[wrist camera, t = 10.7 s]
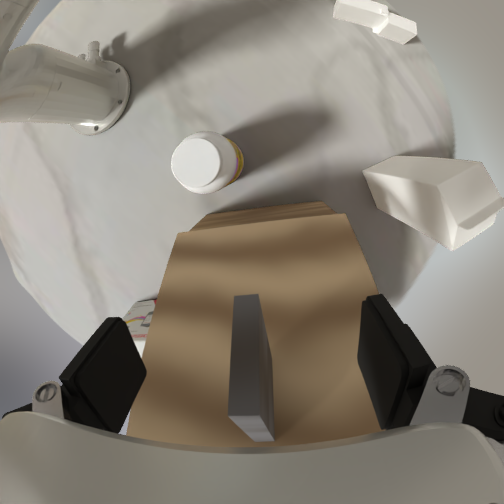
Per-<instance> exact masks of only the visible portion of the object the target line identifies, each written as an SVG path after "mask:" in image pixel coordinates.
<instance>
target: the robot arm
mask: <svg viewBox="0 0 504 504" xmlns="http://www.w3.org/2000/svg"><path fill="white" fill-rule="evenodd" d="M38 2H39V0H0V123H7V122H34V123H60V124H70V125H71V127H72V128H73V129H74V130H75V131H76V132H78V133H79V134H83V135H96V134H99V133H102V132H104V131H106V130H107V129H109V128H110V127H111V126H112V125H113V124H114V123H115V122H116V121H117V120H118V119H119V117H120V116H121V114H122V113H123V111H124V109H125V107H126V105H127V102H128V99H129V94H130V79H129V76H128V73H127V71H126V70H125V69H124V67H122V66H121V65H120V64H118V63H116V62H113V61H101V57H100V56H99V42H98V41H93V42H91V43H89V44H88V59H87V60H85V54H81V55H79V56H78V57H76V56H73V55H70V54H68V53H65V52H62V51H60V50H57V49H54V48H51V47H48V46H45V45H42V44H28V45H23V46H20V47H17V48H15V49H13V50H11V51H9V48H10V46H11V45H12V43H13V41H14V39H15V38H16V36H17V34H18V33H19V31H20V29H21V28H22V26H23V25H24V23H25V21H26V20H27V18H28V17H29V15H30V14H31V12H32V11H33V9H34V7H35V6H36V5H37V3H38ZM8 51H9V52H8ZM357 361H358V365H359V368H360V370H361V373H362V376H363V379H364V381H365V384H366V387H367V390H368V393H369V396H370V399H371V401H372V404H373V407H374V410H375V413H376V416H377V420H378V423H379V426H380V428H381V430H384V429H386V430H385V431H381V432H375V433H371V434H366V435H361V436H356V437H351V438H345V439H339V440H332V441H325V442H317V443H309V444H300V445H289V446H275V447H210V446H196V445H185V444H176V443H167V442H160V441H154V440H148V439H142V438H136V437H131V436H126V435H121V434H118V433H119V432H120V430H121V428H122V426H123V424H124V422H125V419H126V417H127V415H128V413H129V411H130V409H131V407H132V405H133V402H134V400H135V398H136V396H137V394H138V392H139V390H140V388H141V386H142V384H143V382H144V380H145V378H146V375H147V370H146V367H145V365H144V363H143V361H142V359H141V356H140V354H139V352H138V350H137V347H136V345H135V343H134V341H133V338H132V336H131V333H130V331H129V329H128V326H127V324H126V322H125V321H123V320H122V318H120V317H108V318H107V319H106V320H105V321H104V322H103V323H102V324H101V326H100V327H99V328H98V329H97V330H96V331H95V333H94V334H93V335H92V336H91V337H90V339H89V340H88V341H87V342H86V343H85V345H84V346H83V347H82V348H81V350H80V351H79V352H78V353H77V355H76V356H75V357H74V358H73V360H72V361H71V362H70V363H69V365H68V366H67V367H66V369H65V370H64V371H63V372H62V374H61V375H60V376H59V379H60V380H61V382H62V383H63V385H62V386H60V385H59V384H58V383H57V382H55V381H48V382H45V383H43V384H41V385H40V386H38V387H37V389H36V390H35V391H34V393H33V400H32V403H30V404H28V405H25V406H23V407H20V408H18V409H15V410H13V411H10V412H7V413H6V414H4V415H3V417H2V420H1V421H0V504H504V396H501V395H497V394H494V393H489V392H486V391H482V390H478V389H475V388H472V387H470V380H469V377H468V375H467V374H466V373H465V372H464V371H463V370H461V369H460V368H458V367H455V366H448V365H446V366H441V367H438V368H437V367H436V366H435V364H434V363H433V361H432V360H431V358H430V357H429V355H428V354H427V352H426V351H425V349H424V348H423V346H422V345H421V343H420V342H419V340H418V339H417V337H416V336H415V334H414V333H413V331H412V330H411V329H410V327H409V326H408V325H407V324H403V322H402V321H401V319H400V318H399V317H398V315H397V314H396V312H395V311H394V309H393V308H392V307H391V305H390V304H389V302H388V301H387V300H386V298H385V297H384V296H383V295H382V294H377V295H371V296H367V298H366V300H364V301H362V307H361V321H360V333H359V343H358V353H357Z"/></svg>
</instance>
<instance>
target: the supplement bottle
mask: <svg viewBox="0 0 504 504" xmlns="http://www.w3.org/2000/svg"><path fill="white" fill-rule="evenodd" d="M243 165H244V158H243V154H242V152H241V150H240V148H239V147H238V146H237V145H236V144H235V143H234V142H232V141H231V140H229V139H227V138H225V137H224V136H222V135H220V134H218V133H215V132H211V131H202V132H197V133H194V134H191V135H190V136H188V137H187V138H185V139H184V140H183V141H182V142H181V143H180V144H179V145H178V147H177V148H176V149H175V151H174V153H173V156H172V159H171V167H172V171H173V174H174V176H175V177H176V179H177V180H178V181H179V182H180V183H181V184H182V185H183V186H184V187H185V188H187V189H188V190H190V191H192V192H195V193H199V194H208V193H213V192H216V191H218V190H220V189H222V188H224V187H225V186H227V185H229V184H231V183H232V182H234V181H235V180H236V179H237V178H238V177H239V175H240V174H241V172H242V169H243Z"/></svg>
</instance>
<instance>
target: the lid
mask: <svg viewBox="0 0 504 504" xmlns="http://www.w3.org/2000/svg"><path fill="white" fill-rule="evenodd" d="M377 294H379V293H378V290H377V287H376V285H375V282H374V279H373V277H372V274H371V272H370V269H369V267H368V264H367V262H366V259H365V257H364V255H363V252H362V250H361V247H360V245H359V243H358V241H357V238H356V236H355V234H354V232H353V229H352V227H351V225H350V223H349V221H348V218H347V216H346V214H345V213H342V214H332V215H322V216H312V217H303V218H293V219H284V220H275V221H267V222H258V223H250V224H242V225H234V226H226V227H218V228H211V229H203V230H196V231H189V232H182V233H178V234H177V237H176V240H175V243H174V246H173V249H172V252H171V255H170V258H169V261H168V264H167V268H166V271H165V274H164V277H163V280H162V284H161V287H160V290H159V294H158V297H157V301H156V304H155V308H154V311H153V315H152V319H151V322H150V326H149V330H148V334H147V338H146V342H145V346H144V350H143V354H142V358H141V359H142V361H143V363H144V365H145V367H146V370H147V375H146V378H145V380H144V382H143V384H142V386H141V388H140V390H139V392H138V394H137V396H136V398H135V400H134V402H133V405H132V407H131V411H130V417H129V423H128V428H127V434H126V436H131V437H136V438H142V439H148V440H154V441H160V442H167V443H176V444H185V445H196V446H210V447H275V446H289V445H300V444H309V443H317V442H325V441H332V440H339V439H345V438H351V437H356V436H361V435H366V434H371V433H375V432H381V431H385V430H386V429H384V430H381V428H380V426H379V423H378V420H377V416H376V413H375V410H374V407H373V404H372V401H371V399H370V396H369V393H368V390H367V387H366V384H365V381H364V379H363V376H362V373H361V370H360V368H359V365H358V361H357V353H358V343H359V333H360V321H361V307H362V301H364V300H366V298H367V296H371V295H377Z"/></svg>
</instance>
